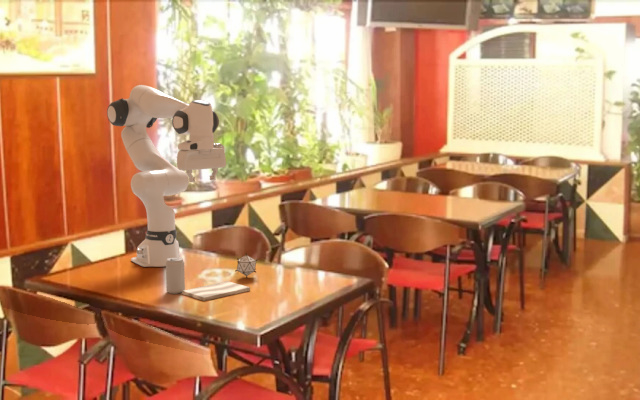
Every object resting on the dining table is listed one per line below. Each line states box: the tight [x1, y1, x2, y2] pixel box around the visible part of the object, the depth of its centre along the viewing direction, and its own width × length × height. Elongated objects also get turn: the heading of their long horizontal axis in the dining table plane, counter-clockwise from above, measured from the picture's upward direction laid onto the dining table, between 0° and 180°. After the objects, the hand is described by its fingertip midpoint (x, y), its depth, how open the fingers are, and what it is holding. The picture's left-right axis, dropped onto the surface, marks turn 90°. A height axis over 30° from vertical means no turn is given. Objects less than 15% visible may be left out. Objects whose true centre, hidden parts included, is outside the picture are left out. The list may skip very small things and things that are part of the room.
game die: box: [234, 252, 259, 279], centre depth 290 cm, size 9×8×10 cm
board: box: [181, 280, 251, 302], centre depth 270 cm, size 13×20×1 cm, turn 134°
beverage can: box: [165, 257, 186, 295], centre depth 270 cm, size 6×6×12 cm
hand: (202, 181), depth 287 cm, fingers open, 8 cm apart
